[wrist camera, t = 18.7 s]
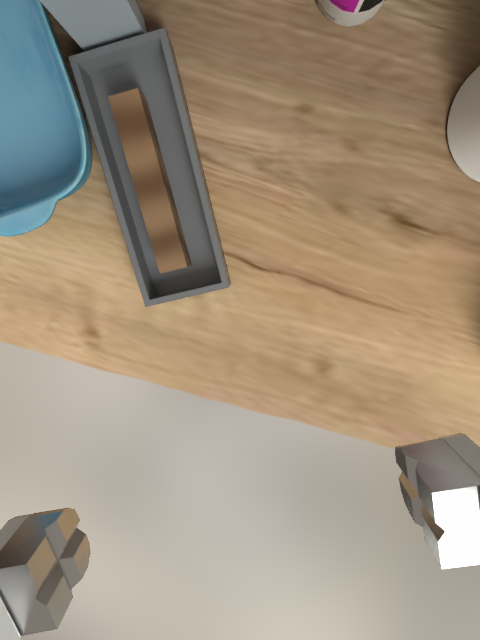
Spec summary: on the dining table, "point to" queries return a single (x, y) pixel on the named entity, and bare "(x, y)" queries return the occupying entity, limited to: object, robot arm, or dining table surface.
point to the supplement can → (349, 10)
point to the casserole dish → (36, 121)
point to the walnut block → (150, 179)
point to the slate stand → (97, 20)
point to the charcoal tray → (178, 155)
